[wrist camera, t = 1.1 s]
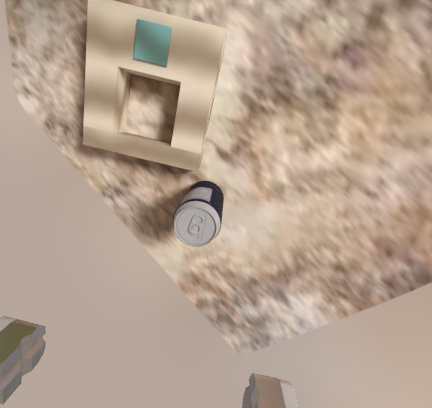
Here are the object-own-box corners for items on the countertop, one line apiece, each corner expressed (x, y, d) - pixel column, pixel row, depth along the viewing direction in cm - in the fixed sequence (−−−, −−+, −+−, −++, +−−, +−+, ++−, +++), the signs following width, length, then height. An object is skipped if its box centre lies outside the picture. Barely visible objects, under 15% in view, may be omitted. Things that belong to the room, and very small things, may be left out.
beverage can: (184, 206, 38) (164, 239, 26) (195, 174, 36) (178, 195, 24) (216, 218, 38) (210, 256, 26) (229, 187, 36) (228, 214, 25)
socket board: (106, 11, 30) (86, -8, 26) (225, 41, 30) (225, 27, 26) (98, 142, 35) (81, 144, 31) (199, 167, 35) (195, 172, 31)
